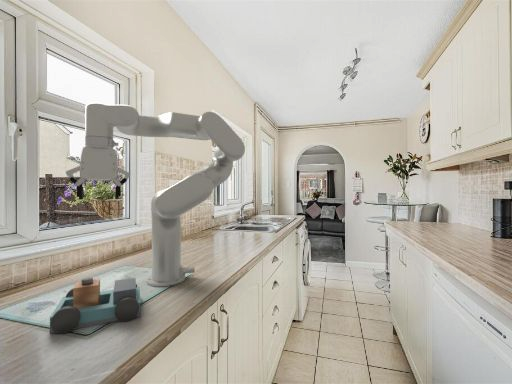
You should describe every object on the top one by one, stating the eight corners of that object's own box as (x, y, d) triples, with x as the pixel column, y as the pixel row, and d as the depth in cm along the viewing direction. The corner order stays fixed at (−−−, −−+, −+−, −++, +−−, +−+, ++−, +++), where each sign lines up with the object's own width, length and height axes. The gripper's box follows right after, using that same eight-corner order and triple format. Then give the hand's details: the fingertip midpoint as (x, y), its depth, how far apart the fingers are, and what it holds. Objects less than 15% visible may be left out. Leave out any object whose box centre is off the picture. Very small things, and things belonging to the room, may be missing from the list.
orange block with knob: (100, 305, 68) (100, 275, 68) (98, 313, 64) (98, 281, 64) (77, 309, 66) (77, 277, 66) (73, 318, 62) (73, 284, 62)
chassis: (139, 296, 77) (139, 274, 77) (140, 318, 63) (140, 291, 63) (63, 308, 69) (63, 283, 69) (48, 336, 56) (48, 305, 56)
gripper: (130, 148, 89) (130, 198, 89) (68, 144, 82) (68, 199, 82) (130, 144, 83) (130, 199, 83) (63, 139, 75) (63, 199, 75)
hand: (99, 199), depth 82 cm, fingers open, 9 cm apart
